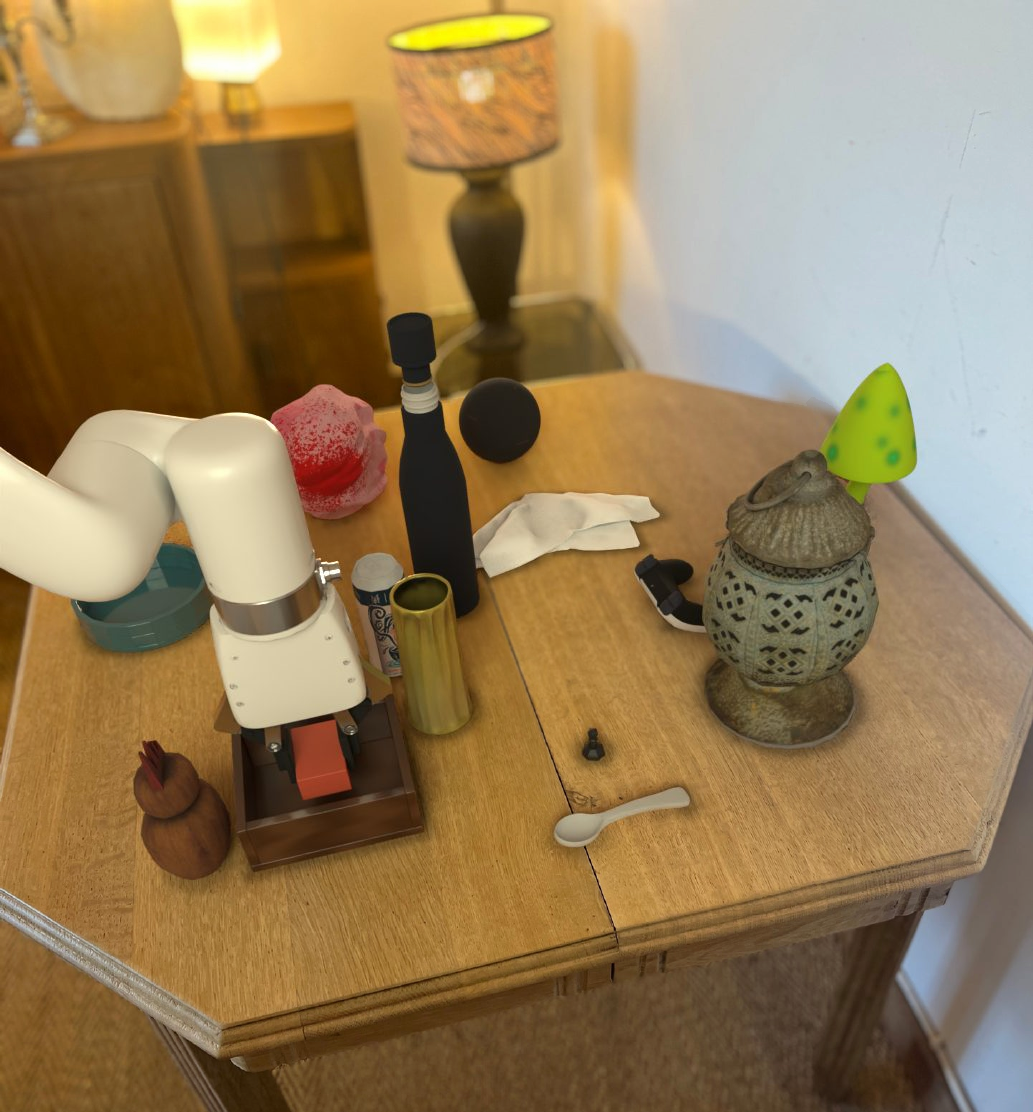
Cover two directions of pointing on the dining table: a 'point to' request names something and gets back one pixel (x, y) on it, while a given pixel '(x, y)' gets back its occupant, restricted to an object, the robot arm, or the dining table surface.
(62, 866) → the dining table surface
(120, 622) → the bowl
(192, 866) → the wooden figurine
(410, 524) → the black bottle
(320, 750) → the red rectangular prism
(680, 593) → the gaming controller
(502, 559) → the cloth
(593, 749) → the chess pawn
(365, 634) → the beer can
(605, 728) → the dining table surface
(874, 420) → the mushroom
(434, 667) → the vase
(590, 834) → the spoon
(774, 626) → the lantern
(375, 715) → the holder
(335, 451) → the decorative rock
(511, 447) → the speaker
